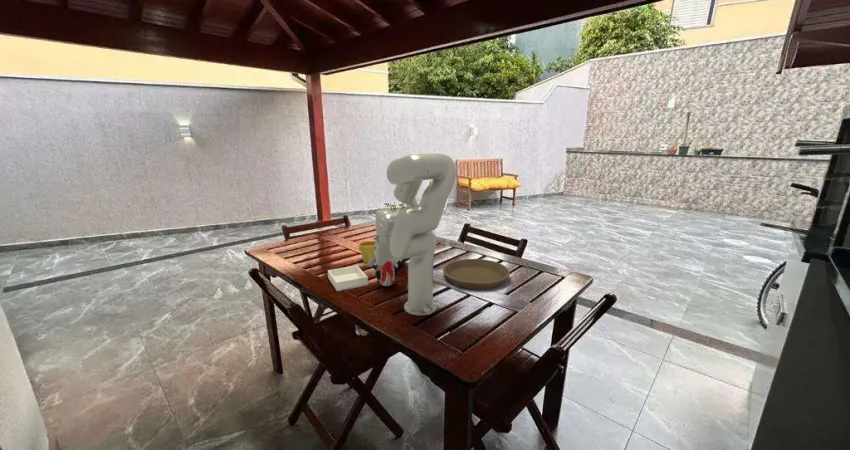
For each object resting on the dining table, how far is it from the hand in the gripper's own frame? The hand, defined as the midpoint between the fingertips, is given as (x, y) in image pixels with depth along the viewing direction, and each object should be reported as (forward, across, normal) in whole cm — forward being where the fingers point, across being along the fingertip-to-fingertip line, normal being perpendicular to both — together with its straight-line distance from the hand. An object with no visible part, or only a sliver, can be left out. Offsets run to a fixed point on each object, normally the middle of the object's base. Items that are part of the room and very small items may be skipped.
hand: (386, 276), depth 155 cm
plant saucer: (+5, +41, -10) cm, 42 cm away
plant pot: (+4, +4, +35) cm, 35 cm away
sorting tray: (+4, -14, +13) cm, 20 cm away
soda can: (+3, 0, 0) cm, 3 cm away
